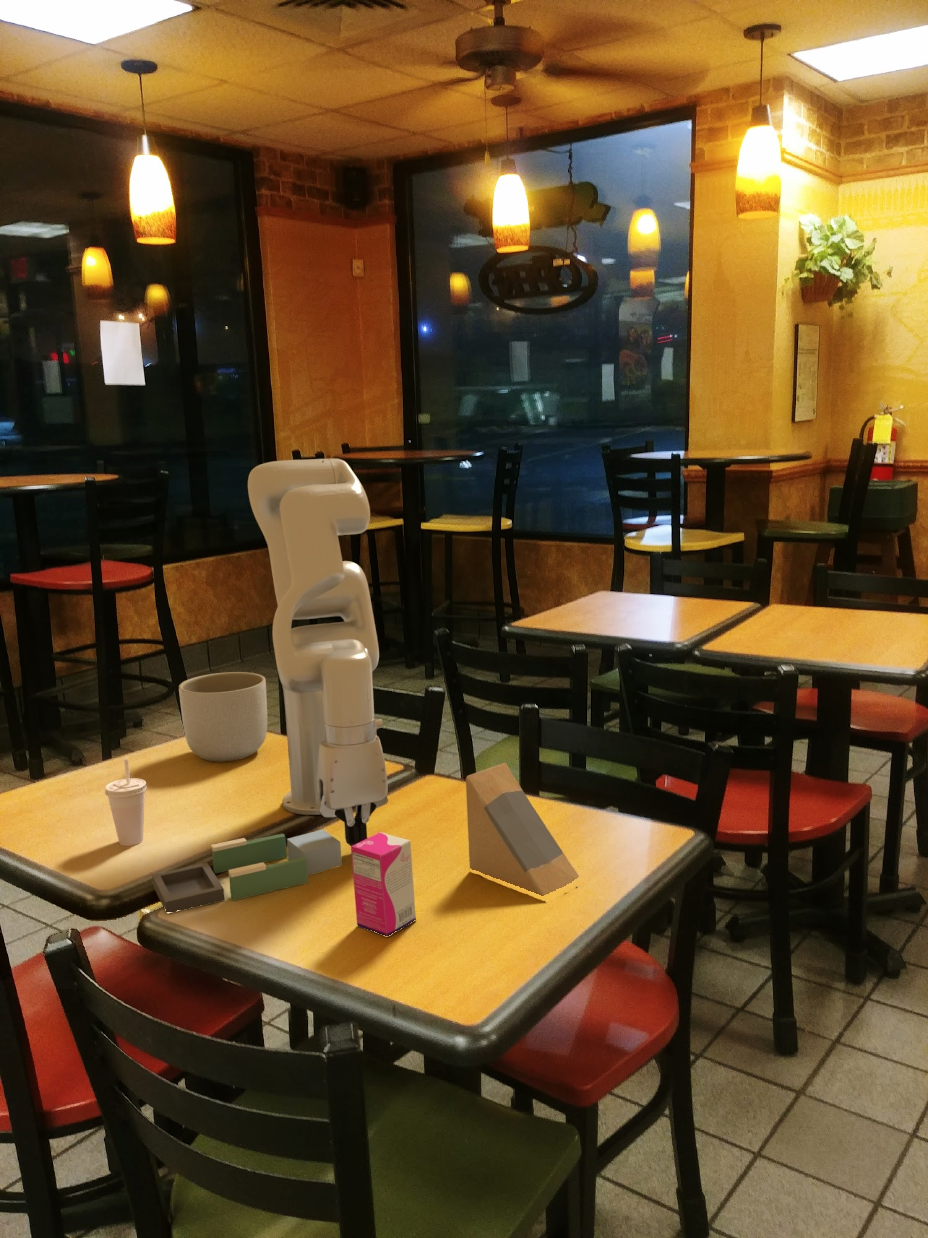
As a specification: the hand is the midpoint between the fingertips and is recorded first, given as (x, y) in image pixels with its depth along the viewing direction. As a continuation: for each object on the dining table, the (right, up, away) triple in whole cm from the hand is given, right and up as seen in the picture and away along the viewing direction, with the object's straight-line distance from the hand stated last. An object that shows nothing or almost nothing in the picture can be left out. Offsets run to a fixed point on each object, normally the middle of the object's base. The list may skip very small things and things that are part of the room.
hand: (356, 846), depth 158 cm
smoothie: (-37, -1, +8) cm, 38 cm away
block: (-6, -2, -3) cm, 7 cm away
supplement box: (+6, -6, -22) cm, 24 cm away
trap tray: (-23, -4, -11) cm, 26 cm away
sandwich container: (+26, -3, -10) cm, 28 cm away
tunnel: (-14, -3, -6) cm, 15 cm away
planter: (-32, +7, +51) cm, 60 cm away
